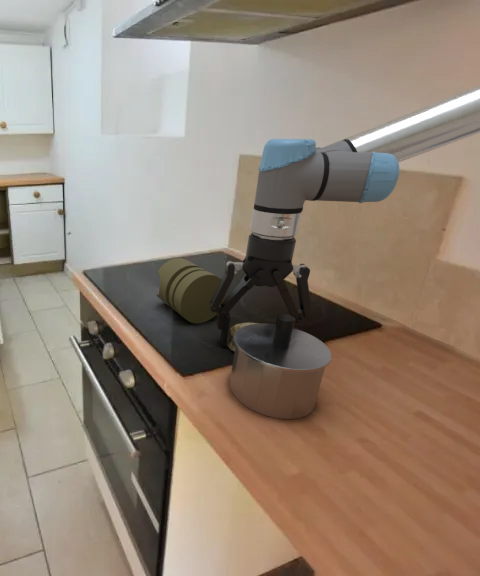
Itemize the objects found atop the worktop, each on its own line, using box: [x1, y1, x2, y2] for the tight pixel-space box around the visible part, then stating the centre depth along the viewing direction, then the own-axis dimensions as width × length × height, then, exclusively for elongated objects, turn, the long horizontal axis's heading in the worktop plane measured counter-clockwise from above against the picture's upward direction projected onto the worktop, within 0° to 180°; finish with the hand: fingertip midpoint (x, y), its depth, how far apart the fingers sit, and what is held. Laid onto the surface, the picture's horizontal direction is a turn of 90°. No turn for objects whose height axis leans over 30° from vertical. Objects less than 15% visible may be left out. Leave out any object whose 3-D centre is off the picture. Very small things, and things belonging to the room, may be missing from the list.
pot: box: [229, 346, 326, 420], centre depth 59 cm, size 12×12×8 cm
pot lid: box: [234, 313, 332, 372], centre depth 57 cm, size 13×13×6 cm
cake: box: [226, 321, 259, 352], centre depth 73 cm, size 10×10×5 cm
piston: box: [155, 257, 227, 324], centre depth 86 cm, size 11×12×11 cm
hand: (252, 345), depth 74 cm, fingers open, 10 cm apart
